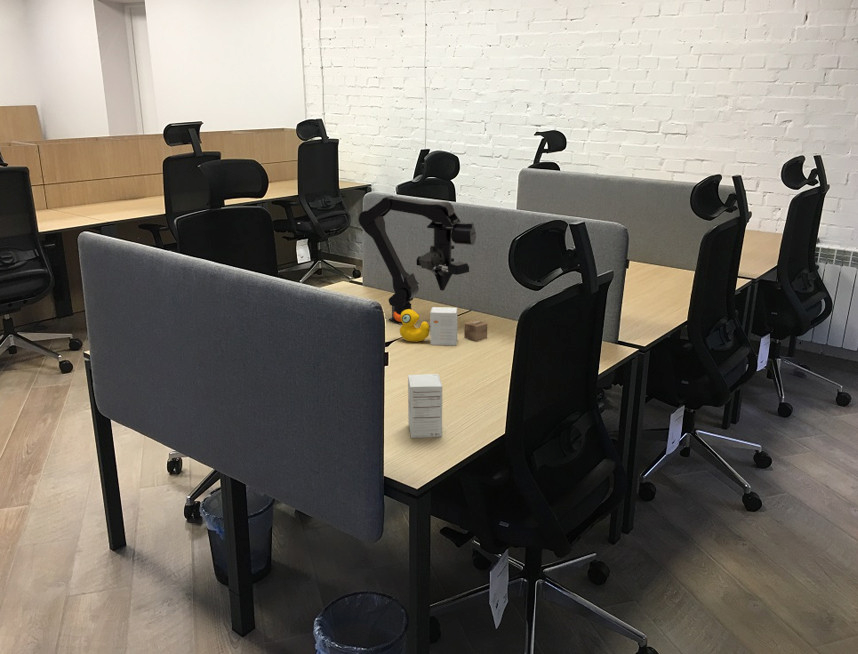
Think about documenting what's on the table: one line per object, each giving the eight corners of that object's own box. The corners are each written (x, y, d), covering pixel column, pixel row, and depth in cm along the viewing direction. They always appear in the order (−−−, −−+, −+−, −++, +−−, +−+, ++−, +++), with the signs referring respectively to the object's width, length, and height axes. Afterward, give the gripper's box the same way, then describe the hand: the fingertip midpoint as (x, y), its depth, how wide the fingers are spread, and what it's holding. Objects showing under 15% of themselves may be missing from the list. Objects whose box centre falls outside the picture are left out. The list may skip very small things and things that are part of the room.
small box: (457, 339, 232) (458, 307, 228) (456, 345, 226) (456, 312, 223) (431, 338, 232) (431, 306, 229) (430, 345, 227) (430, 311, 224)
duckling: (391, 342, 230) (390, 310, 226) (396, 336, 234) (396, 306, 231) (426, 345, 227) (426, 313, 224) (431, 339, 232) (431, 308, 228)
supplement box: (407, 424, 175) (407, 374, 171) (439, 423, 176) (439, 373, 172) (409, 438, 168) (409, 386, 164) (442, 437, 169) (443, 385, 165)
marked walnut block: (463, 338, 234) (464, 321, 232) (474, 334, 237) (475, 318, 235) (476, 342, 230) (476, 325, 228) (487, 338, 233) (487, 322, 231)
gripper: (403, 241, 237) (404, 289, 242) (445, 251, 224) (444, 301, 229) (429, 237, 245) (429, 283, 249) (470, 245, 232) (469, 294, 237)
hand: (442, 290), depth 241 cm, fingers closed
